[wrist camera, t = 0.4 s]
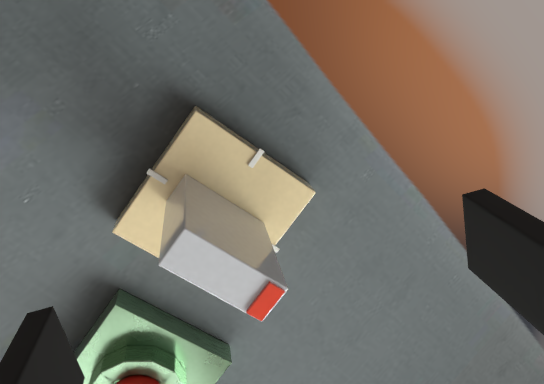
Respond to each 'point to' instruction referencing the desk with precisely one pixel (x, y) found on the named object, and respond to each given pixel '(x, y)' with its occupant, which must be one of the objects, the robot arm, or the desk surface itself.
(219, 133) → the panel
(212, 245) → the tap handle
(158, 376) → the control block
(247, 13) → the desk surface
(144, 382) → the stop button
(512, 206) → the robot arm
